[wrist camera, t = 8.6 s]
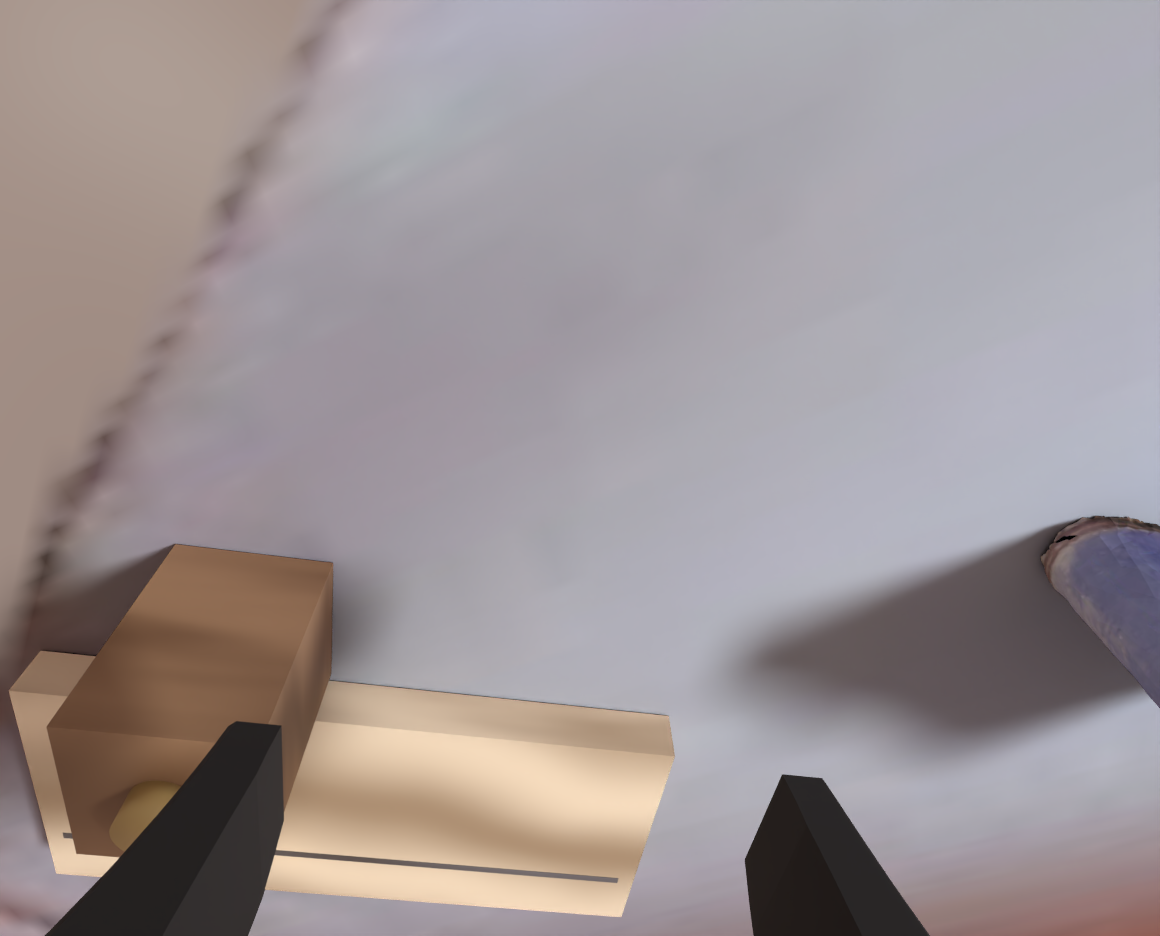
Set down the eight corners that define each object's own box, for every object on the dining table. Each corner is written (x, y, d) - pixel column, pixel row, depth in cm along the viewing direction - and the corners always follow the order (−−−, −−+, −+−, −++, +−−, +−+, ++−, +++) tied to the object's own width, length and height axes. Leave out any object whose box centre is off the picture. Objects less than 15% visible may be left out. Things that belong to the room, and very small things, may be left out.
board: (618, 874, 28) (621, 917, 27) (81, 830, 26) (56, 874, 25) (668, 715, 24) (674, 757, 23) (40, 650, 22) (7, 691, 21)
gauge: (328, 826, 26) (262, 1062, 21) (203, 816, 26) (100, 1053, 20) (333, 562, 21) (245, 780, 15) (175, 544, 21) (22, 760, 15)
